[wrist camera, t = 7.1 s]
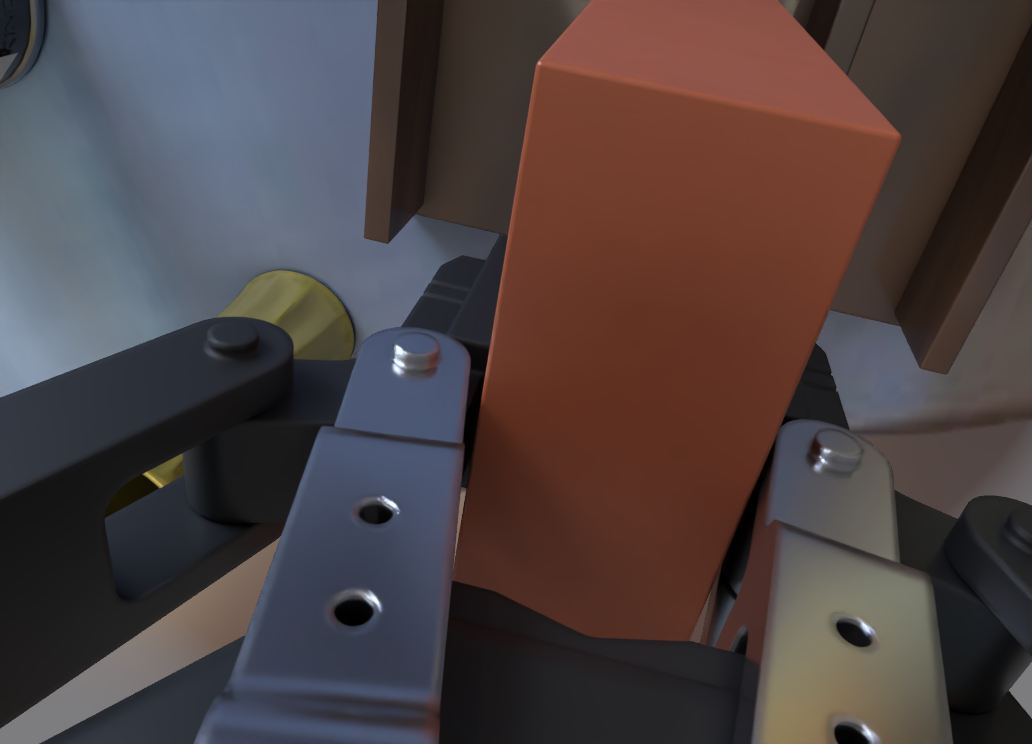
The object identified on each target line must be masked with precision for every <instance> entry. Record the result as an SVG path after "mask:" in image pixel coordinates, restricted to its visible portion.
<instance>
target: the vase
mask: <svg viewBox="0 0 1032 744" xmlns="http://www.w3.org/2000/svg"><path fill="white" fill-rule="evenodd" d="M234 316H235V317H249V318H255V319H260V320H264V321H267V322H270V323H272V324H275V325H277V326H279V327H280V328H282V329H283V330H285V331H286V332H287V333H288V334H289V335H290V337H291V338H292V340H293V344H294V359H306V360H349V359H350V357H351V354H352V351H353V347H354V332H353V327H352V324H351V321H350V319H349V316H348V314H347V312H346V310H345V308H344V306H343V304H342V303H341V302H340V300H339V299H338V298H337V297H336V296H335V295H334V294H333V293H332V292H331V291H330V290H329V289H328V288H327V287H325V286H324V285H323V284H321V283H320V282H318V281H317V280H315V279H313V278H311V277H308V276H306V275H303V274H300V273H296V272H291V271H271V272H267V273H264V274H261V275H259V276H257V277H256V278H254V279H253V280H251V281H250V282H249V283H248V284H247V285H246V287H245V288H244V289H243V291H242V292H241V293H240V294H239V295H238V296H237V297H236V299H235V300H234V301H233V302H232V303H230V304H229V305H228V306H227V307H226V308H225V309H224V310H223V311H222V312H221V313H220V314H219V315H218V316H217V317H216V318H219V317H234ZM183 475H184V467H183V456H182V454H180V455H178V456H176V457H174V458H173V459H171V460H169V461H167V462H165V463H163V464H161V465H159V466H157V467H155V468H153V469H151V470H149V471H147V472H146V473H144V474H142V475H140V476H138V477H136V478H134V479H132V480H131V481H129V482H128V483H126V484H125V485H124V486H123V487H122V488H120V489H119V490H118V491H117V493H116V494H115V495H114V496H113V498H112V499H111V501H110V503H109V505H108V507H107V509H106V513H105V518H106V517H108V516H110V515H112V514H114V513H115V512H117V511H119V510H121V509H123V508H125V507H127V506H128V505H130V504H132V503H134V502H136V501H138V500H139V499H141V498H143V497H145V496H147V495H149V494H150V493H152V492H154V491H156V490H158V489H160V488H161V487H163V486H165V485H167V484H169V483H171V482H172V481H174V480H176V479H178V478H180V477H182V476H183Z"/></svg>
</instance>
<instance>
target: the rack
mask: <svg viewBox="0 0 1032 744" xmlns="http://www.w3.org/2000/svg"><path fill="white" fill-rule="evenodd" d="M591 1H592V0H378V12H377V28H376V45H375V62H374V79H373V96H372V112H371V129H370V146H369V163H368V180H367V196H366V213H365V230H364V238H366V239H370V240H374V241H378V242H383V243H387V244H388V243H389V242H390V241H391V240H392V239H393V238H394V237H395V236H396V235H397V234H398V232H399V231H400V230H401V229H402V228H403V227H404V226H405V225H406V224H407V223H408V221H409V220H410V219H411V218H412V217H413V216H414V215H415V214H417V215H421V216H426V217H430V218H434V219H439V220H443V221H447V222H452V223H456V224H460V225H465V226H469V227H473V228H478V229H482V230H486V231H491V232H495V233H499V234H505V235H508V233H509V227H510V221H511V215H512V209H513V203H514V197H515V190H516V184H517V178H518V172H519V166H520V160H521V154H522V148H523V142H524V136H525V130H526V123H527V117H528V111H529V105H530V99H531V93H532V87H533V81H534V75H535V69H536V64H537V63H538V61H539V60H540V59H541V57H542V56H543V55H544V54H545V53H546V52H547V51H548V50H549V48H550V47H551V46H552V45H553V44H554V43H555V42H556V40H557V39H558V38H559V37H560V36H561V35H562V34H563V32H564V31H565V30H566V29H567V28H568V27H569V26H570V25H571V23H572V22H573V21H574V20H575V19H576V18H577V17H578V15H579V14H580V13H581V12H582V11H583V10H584V9H585V7H586V6H587V5H588V4H589V3H590V2H591ZM778 1H779V2H780V3H781V4H782V5H783V6H784V7H785V9H786V10H787V11H788V12H789V13H790V14H791V15H792V16H793V17H794V18H795V19H796V21H797V22H798V23H799V24H800V25H801V26H802V27H803V28H804V29H805V30H806V32H807V33H808V34H809V35H810V36H811V37H812V38H813V39H814V40H815V41H816V42H817V44H818V45H819V46H820V47H821V48H822V49H823V50H824V51H825V52H826V53H827V54H828V56H829V57H830V58H831V59H832V60H833V61H834V62H835V63H836V64H837V65H838V66H839V68H840V69H841V70H842V71H843V72H844V73H845V74H846V75H847V76H848V77H849V78H850V80H851V81H852V82H853V83H854V84H855V85H856V86H857V87H858V88H859V89H860V90H861V92H862V93H863V94H864V95H865V96H866V97H867V98H868V99H869V100H870V101H871V103H872V104H873V105H874V106H875V107H876V108H877V109H878V110H879V111H880V112H881V113H882V115H883V116H884V117H885V118H886V119H887V120H888V121H889V122H890V123H891V124H892V125H893V127H894V128H895V129H896V130H897V131H898V132H899V133H900V134H901V143H900V145H899V147H898V150H897V152H896V154H895V157H894V159H893V161H892V164H891V166H890V168H889V171H888V173H887V176H886V178H885V180H884V183H883V185H882V187H881V190H880V192H879V194H878V197H877V199H876V202H875V204H874V206H873V209H872V211H871V213H870V216H869V218H868V220H867V223H866V225H865V227H864V230H863V232H862V235H861V237H860V239H859V242H858V244H857V246H856V249H855V251H854V253H853V256H852V258H851V261H850V263H849V265H848V268H847V270H846V272H845V275H844V277H843V279H842V282H841V284H840V286H839V289H838V291H837V294H836V296H835V298H834V301H833V303H832V305H831V308H830V310H832V311H836V312H841V313H845V314H849V315H854V316H858V317H862V318H867V319H871V320H875V321H880V322H884V323H888V324H893V325H897V326H900V327H901V329H902V331H903V333H904V335H905V337H906V340H907V342H908V344H909V346H910V348H911V350H912V352H913V355H914V357H915V359H916V361H917V363H918V365H919V367H920V368H921V369H924V370H928V371H933V372H937V373H941V374H947V373H948V372H949V370H950V368H951V366H952V364H953V362H954V361H955V359H956V357H957V355H958V353H959V351H960V350H961V348H962V346H963V344H964V342H965V340H966V339H967V337H968V335H969V333H970V331H971V329H972V328H973V326H974V324H975V322H976V320H977V318H978V317H979V315H980V313H981V311H982V309H983V307H984V306H985V304H986V302H987V300H988V298H989V296H990V295H991V293H992V291H993V289H994V287H995V285H996V284H997V282H998V280H999V278H1000V276H1001V274H1002V273H1003V271H1004V269H1005V267H1006V265H1007V263H1008V262H1009V260H1010V258H1011V256H1012V254H1013V252H1014V251H1015V249H1016V247H1017V245H1018V243H1019V241H1020V240H1021V238H1022V236H1023V234H1024V232H1025V230H1026V228H1027V227H1028V225H1029V223H1030V221H1031V219H1032V0H778Z"/></svg>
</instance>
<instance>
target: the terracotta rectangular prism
mask: <svg viewBox="0 0 1032 744" xmlns="http://www.w3.org/2000/svg"><path fill="white" fill-rule="evenodd" d="M900 143H901V134H900V133H899V132H898V131H897V130H896V129H895V128H894V127H893V125H892V124H891V123H890V122H889V121H888V120H887V119H886V118H885V117H884V116H883V115H882V113H881V112H880V111H879V110H878V109H877V108H876V107H875V106H874V105H873V104H872V103H871V101H870V100H869V99H868V98H867V97H866V96H865V95H864V94H863V93H862V92H861V90H860V89H859V88H858V87H857V86H856V85H855V84H854V83H853V82H852V81H851V80H850V78H849V77H848V76H847V75H846V74H845V73H844V72H843V71H842V70H841V69H840V68H839V66H838V65H837V64H836V63H835V62H834V61H833V60H832V59H831V58H830V57H829V56H828V54H827V53H826V52H825V51H824V50H823V49H822V48H821V47H820V46H819V45H818V44H817V42H816V41H815V40H814V39H813V38H812V37H811V36H810V35H809V34H808V33H807V32H806V30H805V29H804V28H803V27H802V26H801V25H800V24H799V23H798V22H797V21H796V19H795V18H794V17H793V16H792V15H791V14H790V13H789V12H788V11H787V10H786V9H785V7H784V6H783V5H782V4H781V3H780V2H779V1H778V0H592V1H591V2H590V3H589V4H588V5H587V6H586V7H585V9H584V10H583V11H582V12H581V13H580V14H579V15H578V17H577V18H576V19H575V20H574V21H573V22H572V23H571V25H570V26H569V27H568V28H567V29H566V30H565V31H564V32H563V34H562V35H561V36H560V37H559V38H558V39H557V40H556V42H555V43H554V44H553V45H552V46H551V47H550V48H549V50H548V51H547V52H546V53H545V54H544V55H543V56H542V57H541V59H540V60H539V61H538V63H537V64H536V69H535V75H534V81H533V87H532V93H531V99H530V105H529V111H528V117H527V123H526V130H525V136H524V142H523V148H522V154H521V160H520V166H519V172H518V178H517V184H516V190H515V197H514V203H513V209H512V215H511V221H510V227H509V233H508V239H507V245H506V251H505V258H504V264H503V270H502V276H501V282H500V288H499V294H498V300H497V306H496V312H495V318H494V325H493V331H492V337H491V343H490V349H489V355H488V361H487V367H486V373H485V379H484V386H483V392H482V398H481V404H480V410H479V416H478V422H477V428H476V434H475V440H474V446H473V453H472V459H471V465H470V471H469V477H468V483H467V489H466V496H465V501H464V508H463V514H462V520H461V526H460V532H459V538H458V544H457V550H456V556H455V562H454V568H453V575H452V580H453V581H457V582H461V583H465V584H469V585H473V586H477V587H480V588H484V589H488V590H492V591H495V592H497V593H499V594H501V595H504V596H506V597H508V598H510V599H512V600H514V601H516V602H518V603H520V604H522V605H524V606H526V607H528V608H530V609H532V610H534V611H536V612H538V613H540V614H542V615H545V616H547V617H549V618H551V619H553V620H555V621H557V622H559V623H561V624H563V625H565V626H567V627H569V628H571V629H573V630H575V631H577V632H579V633H582V634H584V635H587V636H591V637H598V638H618V639H644V640H670V641H690V638H691V636H692V633H693V631H694V629H695V626H696V624H697V622H698V619H699V617H700V615H701V612H702V610H703V607H704V605H705V603H706V600H707V598H708V596H709V593H710V591H711V589H712V586H713V584H714V582H715V579H716V577H717V574H718V572H719V570H720V567H721V565H722V563H723V560H724V558H725V556H726V553H727V551H728V548H729V546H730V544H731V541H732V539H733V537H734V534H735V532H736V530H737V527H738V525H739V523H740V520H741V518H742V515H743V513H744V511H745V508H746V506H747V504H748V501H749V499H750V497H751V494H752V492H753V489H754V487H755V485H756V482H757V480H758V478H759V475H760V473H761V471H762V468H763V466H764V463H765V461H766V459H767V456H768V454H769V452H770V449H771V447H772V445H773V442H774V440H775V438H776V435H777V433H778V430H779V428H780V426H781V423H782V421H783V419H784V416H785V414H786V412H787V409H788V407H789V404H790V402H791V400H792V397H793V395H794V393H795V390H796V388H797V386H798V383H799V381H800V379H801V376H802V374H803V371H804V369H805V367H806V364H807V362H808V360H809V357H810V355H811V353H812V350H813V348H814V345H815V343H816V341H817V338H818V336H819V334H820V331H821V329H822V327H823V324H824V322H825V320H826V317H827V315H828V312H829V310H830V308H831V305H832V303H833V301H834V298H835V296H836V294H837V291H838V289H839V286H840V284H841V282H842V279H843V277H844V275H845V272H846V270H847V268H848V265H849V263H850V261H851V258H852V256H853V253H854V251H855V249H856V246H857V244H858V242H859V239H860V237H861V235H862V232H863V230H864V227H865V225H866V223H867V220H868V218H869V216H870V213H871V211H872V209H873V206H874V204H875V202H876V199H877V197H878V194H879V192H880V190H881V187H882V185H883V183H884V180H885V178H886V176H887V173H888V171H889V168H890V166H891V164H892V161H893V159H894V157H895V154H896V152H897V150H898V147H899V145H900Z"/></svg>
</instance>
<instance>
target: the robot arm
mask: <svg viewBox="0 0 1032 744" xmlns="http://www.w3.org/2000/svg"><path fill="white" fill-rule="evenodd" d="M44 21H45V20H44V3H43V0H0V89H2V88H5V87H8V86H10V85H12V84H14V83H15V82H17V81H18V80H20V79H21V78H22V77H23V76H24V75H25V74H26V73H27V72H28V71H29V69H30V68H31V67H32V65H33V63H34V62H35V60H36V58H37V56H38V53H39V51H40V47H41V44H42V39H43V33H44ZM507 239H508V235H505V234H500V235H499V237H498V239H497V241H496V243H495V245H494V246H493V248H492V250H491V252H490V254H489V256H488V258H487V259H486V261H485V260H481V259H476V258H472V257H467V256H463V255H462V256H460V257H458V258H456V259H454V260H452V261H449V262H447V263H445V264H443V265H441V267H440V268H439V270H438V271H437V273H436V274H435V276H434V277H433V279H432V281H431V283H429V285H428V287H427V288H426V290H425V291H424V294H423V296H421V297H420V299H419V300H418V302H417V303H416V305H415V306H414V308H413V310H412V311H411V313H410V314H409V316H408V317H407V319H406V320H405V322H404V323H403V325H402V326H401V327H396V328H390V329H385V330H382V331H379V332H377V333H375V334H372V335H371V336H369V337H368V338H367V339H366V340H365V341H364V342H363V343H362V345H361V347H360V350H359V353H358V356H357V359H351V360H306V359H294V344H293V340H292V338H291V337H290V335H289V334H288V333H287V332H286V331H285V330H283V329H282V328H280V327H279V326H277V325H275V324H272V323H270V322H267V321H264V320H260V319H255V318H249V317H235V316H234V317H219V318H212V319H208V320H203V321H200V322H197V323H194V324H192V325H189V326H187V327H184V328H181V329H179V330H176V331H173V332H171V333H168V334H166V335H163V336H160V337H158V338H155V339H153V340H150V341H147V342H145V343H142V344H140V345H137V346H134V347H132V348H129V349H126V350H124V351H121V352H119V353H116V354H113V355H111V356H108V357H106V358H103V359H100V360H98V361H95V362H93V363H90V364H87V365H85V366H82V367H79V368H77V369H74V370H72V371H69V372H66V373H64V374H61V375H59V376H56V377H53V378H51V379H48V380H46V381H43V382H40V383H38V384H35V385H32V386H30V387H27V388H25V389H22V390H19V391H17V392H14V393H12V394H9V395H6V396H4V397H1V398H0V728H2V727H3V726H5V725H6V724H8V723H9V722H10V721H12V720H13V719H15V718H16V717H18V716H19V715H21V714H22V713H24V712H25V711H27V710H28V709H29V708H31V707H32V706H34V705H35V704H37V703H38V702H40V701H41V700H42V699H44V698H46V697H47V696H49V695H50V694H51V693H53V692H54V691H56V690H57V689H59V688H60V687H62V686H63V685H65V684H66V683H68V682H69V681H70V680H72V679H73V678H75V677H76V676H78V675H79V674H81V673H82V672H84V671H85V670H87V669H88V668H89V667H91V666H92V665H94V664H95V663H97V662H98V661H100V660H101V659H103V658H104V657H106V656H107V655H108V654H110V653H111V652H113V651H114V650H116V649H117V648H118V647H120V646H122V645H123V644H125V643H126V642H127V641H129V640H130V639H132V638H133V637H135V636H136V635H138V634H139V633H141V632H142V631H143V630H145V629H147V628H148V627H149V626H151V625H152V624H154V623H155V622H157V621H158V620H160V619H161V618H163V617H164V616H166V615H167V614H168V613H170V612H171V611H173V610H174V609H176V608H177V607H179V606H180V605H182V604H183V603H185V602H186V601H187V600H189V599H190V598H192V597H193V596H195V595H196V594H198V593H199V592H201V591H202V590H204V589H205V588H207V587H208V586H209V585H211V584H212V583H214V582H215V581H217V580H218V579H220V578H221V577H223V576H224V575H226V574H227V573H228V572H230V571H231V570H233V569H234V568H236V567H237V566H239V565H240V564H242V563H243V562H244V561H246V560H247V559H249V558H250V557H252V556H253V555H255V554H256V553H258V552H259V551H261V550H262V549H263V548H265V547H267V546H268V545H269V544H271V543H272V542H274V541H275V540H277V539H278V538H279V537H280V536H281V537H280V540H279V543H278V546H277V549H276V552H275V555H274V557H273V560H272V563H271V566H270V568H269V571H268V574H267V577H266V580H265V582H264V585H263V588H262V591H261V594H260V596H259V599H258V602H257V605H256V607H255V610H254V613H253V616H252V619H251V621H250V624H249V627H248V630H247V633H246V635H245V636H243V637H241V638H239V639H237V640H235V641H233V642H232V643H229V644H228V645H226V646H224V647H222V648H220V649H218V650H216V651H214V652H212V653H211V654H209V655H207V656H205V657H203V658H201V659H199V660H197V661H195V662H193V663H192V664H190V665H188V666H186V667H184V668H182V669H180V670H178V671H177V672H175V673H173V674H171V675H169V676H167V677H165V678H163V679H161V680H160V681H158V682H156V683H154V684H152V685H150V686H148V687H146V688H144V689H142V690H141V691H139V692H137V693H135V694H133V695H131V696H129V697H127V698H125V699H123V700H122V701H120V702H118V703H116V704H114V705H112V706H110V707H108V708H106V709H104V710H103V711H101V712H99V713H97V714H95V715H93V716H91V717H89V718H87V719H86V720H84V721H82V722H80V723H78V724H76V725H74V726H72V727H71V728H69V729H67V730H65V731H63V732H61V733H59V734H57V735H55V736H53V737H52V738H50V739H48V740H46V741H44V742H42V743H40V744H1032V719H1031V717H1030V716H1029V715H1028V714H1027V712H1026V711H1025V710H1024V709H1023V708H1022V706H1021V705H1020V704H1019V703H1018V701H1017V700H1016V699H1015V698H1014V697H1013V695H1012V694H1011V693H1010V692H1009V689H1010V688H1011V687H1012V686H1013V684H1014V683H1015V682H1016V681H1017V679H1018V678H1019V677H1020V676H1021V674H1022V673H1023V672H1024V671H1025V669H1026V668H1027V667H1028V666H1029V664H1030V663H1031V662H1032V506H1031V505H1029V504H1027V503H1024V502H1021V501H1018V500H1015V499H1011V498H1007V497H1001V496H979V497H977V498H974V499H972V500H971V501H970V502H968V504H967V506H966V508H965V509H964V510H963V512H962V514H961V515H960V517H959V518H958V519H956V518H954V517H952V516H950V515H947V514H945V513H942V512H940V511H938V510H936V509H933V508H931V507H929V506H926V505H924V504H922V503H920V502H917V501H915V500H913V499H911V498H909V497H907V496H905V495H903V494H901V493H899V492H898V491H896V490H894V478H893V471H892V467H891V465H890V463H889V461H888V460H887V458H886V457H885V456H884V454H883V453H882V452H881V451H880V450H879V449H878V448H877V447H875V446H874V445H873V444H872V443H870V442H869V441H868V440H866V439H865V438H863V437H861V436H860V435H858V434H856V433H854V432H852V431H850V429H849V426H848V423H847V420H846V417H845V413H844V410H843V407H842V404H841V401H840V397H839V394H838V392H837V391H836V385H835V381H834V378H833V376H831V369H830V365H829V362H828V359H827V356H826V353H825V352H824V351H823V350H822V349H821V348H820V347H819V346H818V345H817V344H816V343H815V345H814V348H813V350H812V353H811V355H810V357H809V360H808V362H807V364H806V367H805V369H804V371H803V374H802V376H801V379H800V381H799V383H798V386H797V388H796V390H795V393H794V395H793V397H792V400H791V402H790V404H789V407H788V409H787V412H786V414H785V416H784V419H783V421H782V423H781V426H780V428H779V430H778V433H777V435H776V438H775V440H774V442H773V445H772V447H771V449H770V452H769V454H768V456H767V459H766V461H765V463H764V466H763V468H762V471H761V473H760V475H759V478H758V480H757V482H756V485H755V487H754V489H753V492H752V494H751V497H750V499H749V501H748V504H747V506H746V508H745V511H744V513H743V515H742V518H741V520H740V523H739V525H738V527H737V530H736V532H735V534H734V537H733V539H732V541H731V544H730V546H729V548H728V551H727V553H726V556H725V558H724V560H723V563H722V565H721V567H720V570H719V572H718V574H717V577H716V579H715V582H714V584H713V586H712V589H711V593H710V598H709V603H708V608H707V613H706V617H705V622H704V627H703V632H702V637H701V641H700V643H696V642H691V641H670V640H644V639H618V638H598V637H591V636H587V635H584V634H582V633H579V632H577V631H575V630H573V629H571V628H569V627H567V626H565V625H563V624H561V623H559V622H557V621H555V620H553V619H551V618H549V617H547V616H545V615H542V614H540V613H538V612H536V611H534V610H532V609H530V608H528V607H526V606H524V605H522V604H520V603H518V602H516V601H514V600H512V599H510V598H508V597H506V596H504V595H501V594H499V593H497V592H495V591H492V590H488V589H484V588H480V587H477V586H473V585H469V584H465V583H461V582H457V581H453V580H452V575H453V565H454V554H455V544H456V543H455V542H456V533H457V523H458V511H459V502H460V492H461V487H464V488H467V483H468V477H469V471H470V465H471V459H472V453H473V446H474V440H475V434H476V428H477V422H478V416H479V410H480V404H481V398H482V392H483V386H484V379H485V373H486V367H487V361H488V355H489V349H490V343H491V337H492V331H493V325H494V318H495V312H496V306H497V300H498V294H499V288H500V282H501V276H502V270H503V264H504V258H505V251H506V245H507ZM180 454H182V456H183V467H184V475H183V476H182V477H180V478H178V479H176V480H174V481H172V482H171V483H169V484H167V485H165V486H163V487H161V488H160V489H158V490H156V491H154V492H152V493H150V494H149V495H147V496H145V497H143V498H141V499H139V500H138V501H136V502H134V503H132V504H130V505H128V506H127V507H125V508H123V509H121V510H119V511H117V512H115V513H114V514H112V515H110V516H108V517H106V518H105V513H106V509H107V507H108V505H109V503H110V501H111V499H112V498H113V496H114V495H115V494H116V493H117V491H118V490H119V489H120V488H122V487H123V486H124V485H125V484H126V483H128V482H129V481H131V480H132V479H134V478H136V477H138V476H140V475H142V474H144V473H146V472H147V471H149V470H151V469H153V468H155V467H157V466H159V465H161V464H163V463H165V462H167V461H169V460H171V459H173V458H174V457H176V456H178V455H180Z"/></svg>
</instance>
